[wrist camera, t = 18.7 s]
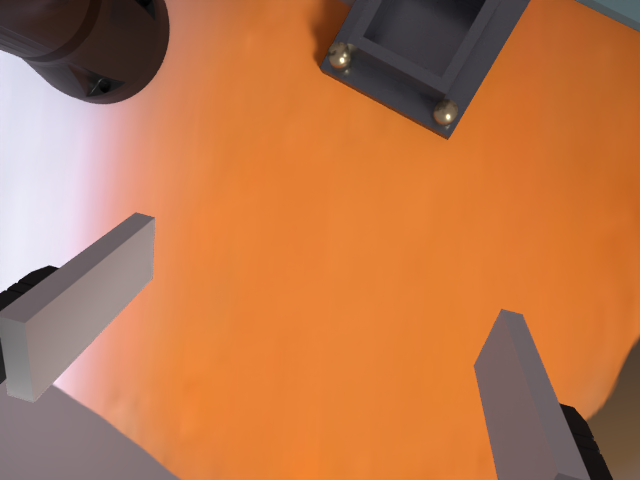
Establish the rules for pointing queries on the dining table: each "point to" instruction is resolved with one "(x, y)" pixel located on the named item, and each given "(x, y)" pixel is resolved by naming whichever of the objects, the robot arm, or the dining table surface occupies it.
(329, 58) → the housing
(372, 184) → the dining table surface
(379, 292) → the dining table surface
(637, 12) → the mat
